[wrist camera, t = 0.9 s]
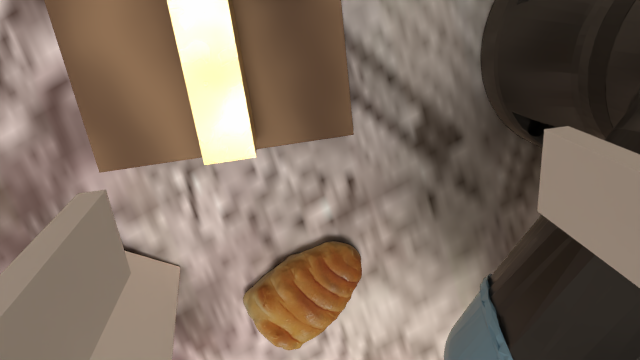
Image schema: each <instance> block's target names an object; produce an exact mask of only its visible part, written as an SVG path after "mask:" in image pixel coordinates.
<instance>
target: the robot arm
mask: <svg viewBox="0 0 640 360" xmlns="http://www.w3.org/2000/svg"><path fill="white" fill-rule="evenodd" d="M481 67H482V76H483V82H484V86H485V90H486V93H487V96H488V98H489V101H490V103H491V105H492V107H493V109H494V110H495V112H496V113H497V115H498V116H499V118H500V119H501V120H502V121H503V123H504V124H505V125H506V126H507V127H508V128H510V129H511V130H512V131H513V132H514V133H516V134H517V135H519V136H520V137H522V138H524V139H526V140H528V141H530V142H532V143H534V144H536V145H538V146H540V147H542V148H543V150H542V162H541V173H540V185H539V197H538V209H537V211H538V212H539V213H540V214H542V215H541V216H540V217H539V219H538V220H537V221H536V222H535V224H534V225H533V226H532V227H531V228H530V230H529V231H528V232H527V233H526V234H525V236H524V237H523V238H522V239H521V240H520V242H519V243H518V244H517V245H516V246H515V248H514V249H513V250H512V251H511V253H510V254H509V255H508V256H507V257H506V259H505V260H504V261H503V262H502V263H501V265H500V266H499V267H498V268H497V269H496V271H495V272H494V273H493V274H489V275H488V276H487V277H485V278H484V280H483V282H482V284H481V285H480V292H479V293H478V294H477V296H476V297H475V298H474V300H473V301H472V302H471V304H470V305H469V306H468V308H467V309H466V310H465V312H464V313H463V314H462V316H461V317H460V318H459V320H458V321H457V322H456V324H455V325H454V327H453V328H452V330H451V332H450V333H449V336H448V338H447V341H446V345H445V351H444V360H640V0H495V2H494V5H493V7H492V9H491V12H490V14H489V17H488V21H487V24H486V28H485V32H484V37H483V43H482V54H481ZM130 274H131V271H130V268H129V264H128V261H127V258H126V255H125V251H124V248H123V245H122V241H121V238H120V235H119V231H118V228H117V225H116V221H115V218H114V215H113V212H112V208H111V205H110V202H109V198H108V195H107V192H106V190H100V191H93V192H86V193H79V194H77V195H76V196H75V197H74V198H73V199H72V200H71V201H70V202H69V203H68V204H67V205H66V206H65V208H64V209H63V210H62V211H61V212H60V213H59V214H58V215H57V216H56V217H55V218H54V219H53V220H52V221H51V222H50V223H49V224H48V225H47V226H46V227H45V228H44V229H43V230H42V232H41V233H40V234H39V235H38V236H37V237H36V238H35V239H34V240H33V241H32V242H31V243H30V244H29V245H28V246H27V247H26V248H25V249H24V250H23V251H22V252H21V253H20V254H19V256H18V257H17V258H16V259H15V260H14V261H13V262H12V263H11V264H10V265H9V266H8V267H7V268H6V269H5V270H4V271H3V272H2V273H1V274H0V360H90V358H91V356H92V354H93V352H94V350H95V347H96V345H97V343H98V341H99V339H100V337H101V335H102V333H103V331H104V329H105V327H106V324H107V322H108V320H109V318H110V316H111V314H112V312H113V310H114V308H115V306H116V304H117V301H118V299H119V297H120V295H121V293H122V291H123V289H124V287H125V285H126V283H127V281H128V278H129V276H130Z"/></svg>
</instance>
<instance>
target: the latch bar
mask: <svg viewBox="0 0 640 360" xmlns="http://www.w3.org/2000/svg"><path fill="white" fill-rule="evenodd" d="M167 3H168V7H169V12H170V16H171V21H172V25H173V29H174V34H175V38H176V43H177V47H178V51H179V56H180V60H181V65H182V69H183V73H184V78H185V82H186V87H187V91H188V95H189V100H190V104H191V109H192V113H193V117H194V122H195V126H196V131H197V135H198V139H199V144H200V148H201V153H202V157H203V161H204V165H208V164H215V163H221V162H228V161H235V160H241V159H248V158H255V157H256V145H257V137H256V131H255V126H254V120H253V114H252V109H251V103H250V98H249V92H248V86H247V81H246V75H245V69H244V64H243V58H242V52H241V47H240V41H239V36H238V30H237V24H236V19H235V13H234V7H233V2H232V0H167Z"/></svg>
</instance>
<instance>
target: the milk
mask: <svg viewBox="0 0 640 360" xmlns="http://www.w3.org/2000/svg"><path fill="white" fill-rule="evenodd" d="M125 255H126V258H127V261H128V264H129V268H130V271H131V274H130V276H129V278H128V281H127V283H126V285H125V287H124V289H123V291H122V293H121V295H120V297H119V299H118V301H117V304H116V306H115V308H114V310H113V312H112V314H111V316H110V318H109V320H108V322H107V324H106V327H105V329H104V331H103V333H102V335H101V337H100V339H99V341H98V343H97V345H96V347H95V350H94V352H93V354H92V356H91V358H90V360H172V353H173V342H174V331H175V320H176V310H177V299H178V288H179V277H180V267H178V266H175V265H172V264H168V263H165V262H161V261H158V260H155V259H151V258H148V257H144V256H141V255H138V254H134V253H131V252H127V251H125Z"/></svg>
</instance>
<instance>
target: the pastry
mask: <svg viewBox="0 0 640 360" xmlns="http://www.w3.org/2000/svg"><path fill="white" fill-rule="evenodd" d="M361 276H362V268H361V257H360V254H359V253H358V252H357V251H356V249H355V248H353V247H352V246H351V245H348V244H345V243H341V242H336V241H330V242H325V243H323V244H321V245H319V246H315V247H314V248H312V249H309V250H305V251H303V252H301V253H297V254H293V255H290V256H288V257H287V259H286V260H285V261H284V262H282V263H281V264H279V265H278V266H277V267H276V268H274V269H273V270H271V271H270V272H268V273H267V274H266V275H265V276H263V277H262V278H261V279H260V280H259V281H258V282H256V284H255V285H254V286H253V287H252V288H250V289H249V290H248V291H247V292H246V293H245V295H244V297H243V303H244V305H245V307H246V309H247V311H248V314H249V316H250V317H251V318H252V319H253V321H254V323H255V325H256V327H257V329H258V330H259V332H261V334H263V335H264V337H265V338H267V339H268V340H269V341H270V342H271V343H272V344H274V345H275V346H277V347H282V348H283V349H286V350H293V349H298V348H300V347H301V346H302V344H303V343H305V342H307V341H309V340H311V339H313V338H314V337H316V336H317V335H319V334H320V333H322V332H323V331H324V330H325V329H326V328H327V326H329V325H330V324H331V323H332V322H333V321H334V320H335V319H337V317H338V315H339V314H340V313H341V312H342V310H343V309H344V308H345V307H346V304H347V302H348V301H349V300H350V298H351V294H352V292H353V290H354V289H355V288H356V286H357V284H358V282H359V281H360V279H361Z"/></svg>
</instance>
